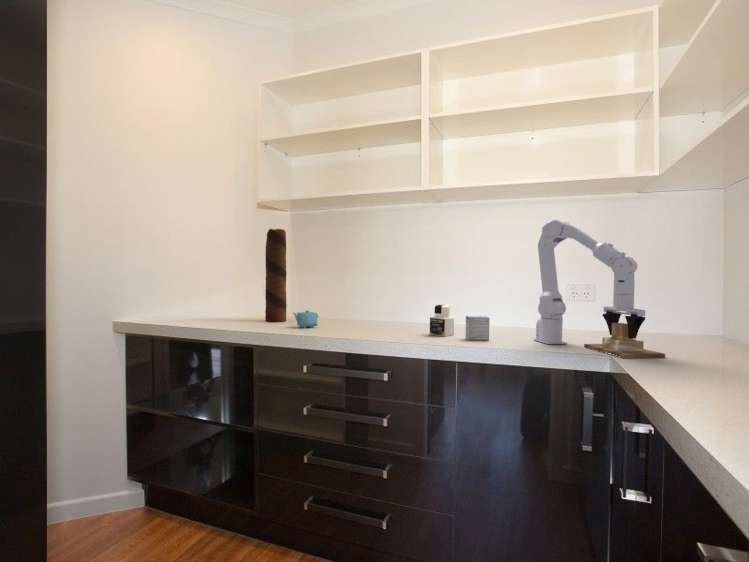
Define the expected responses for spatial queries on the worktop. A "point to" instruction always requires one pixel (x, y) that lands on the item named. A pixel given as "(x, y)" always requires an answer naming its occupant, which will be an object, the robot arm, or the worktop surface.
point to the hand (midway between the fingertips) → (622, 336)
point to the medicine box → (477, 328)
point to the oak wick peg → (620, 332)
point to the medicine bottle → (442, 322)
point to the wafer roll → (276, 276)
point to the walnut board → (625, 348)
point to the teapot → (306, 319)
